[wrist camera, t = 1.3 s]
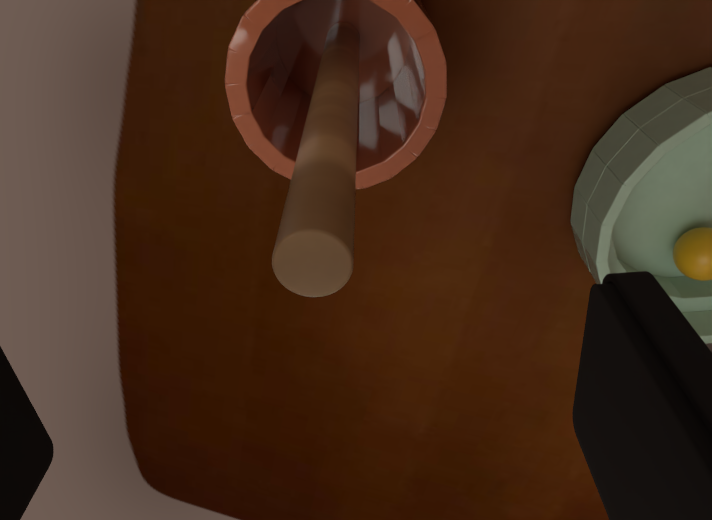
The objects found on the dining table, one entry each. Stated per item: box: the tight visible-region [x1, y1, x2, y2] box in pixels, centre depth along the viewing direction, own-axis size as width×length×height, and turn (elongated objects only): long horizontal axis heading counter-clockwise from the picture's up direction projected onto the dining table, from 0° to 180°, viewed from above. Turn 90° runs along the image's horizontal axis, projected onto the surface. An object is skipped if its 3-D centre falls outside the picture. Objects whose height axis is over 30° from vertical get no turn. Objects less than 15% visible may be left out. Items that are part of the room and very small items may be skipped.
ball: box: [673, 227, 712, 281], centre depth 33 cm, size 3×3×3 cm
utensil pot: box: [225, 0, 447, 189], centre depth 25 cm, size 8×8×9 cm
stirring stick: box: [272, 22, 360, 297], centre depth 20 cm, size 2×2×20 cm
